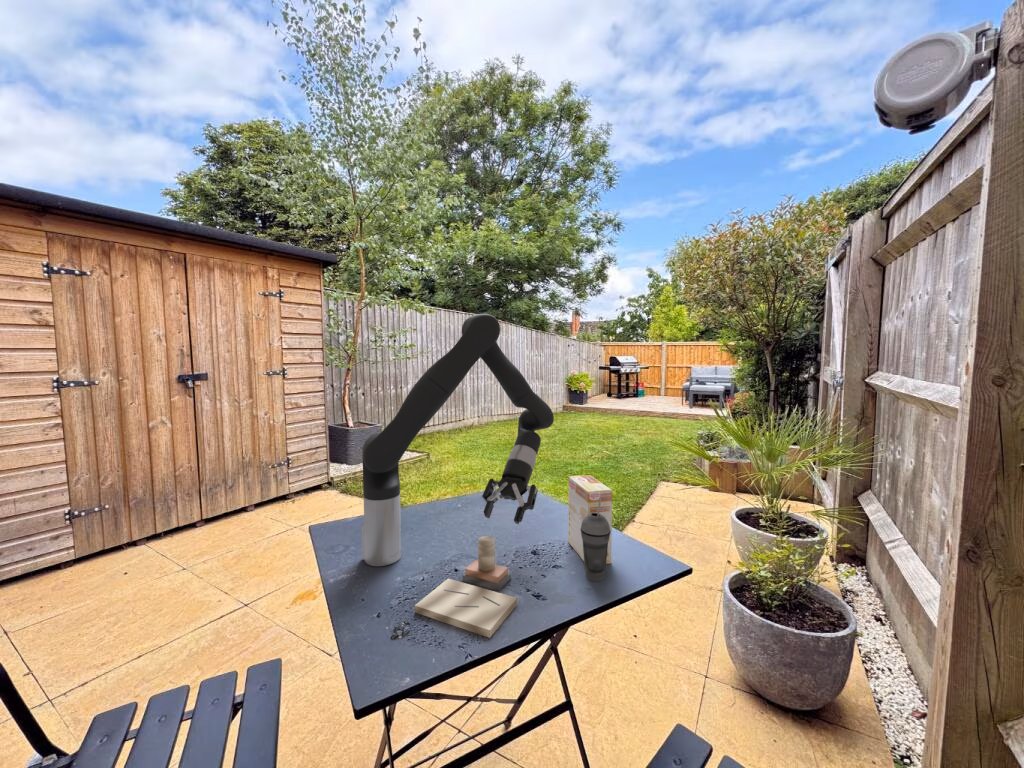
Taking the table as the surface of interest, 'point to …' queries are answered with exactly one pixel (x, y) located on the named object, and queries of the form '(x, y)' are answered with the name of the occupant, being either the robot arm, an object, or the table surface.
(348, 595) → the table surface
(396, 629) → the gravel pile
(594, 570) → the beverage cup
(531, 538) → the table surface
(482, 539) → the block
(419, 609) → the board
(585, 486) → the coffeecake box
